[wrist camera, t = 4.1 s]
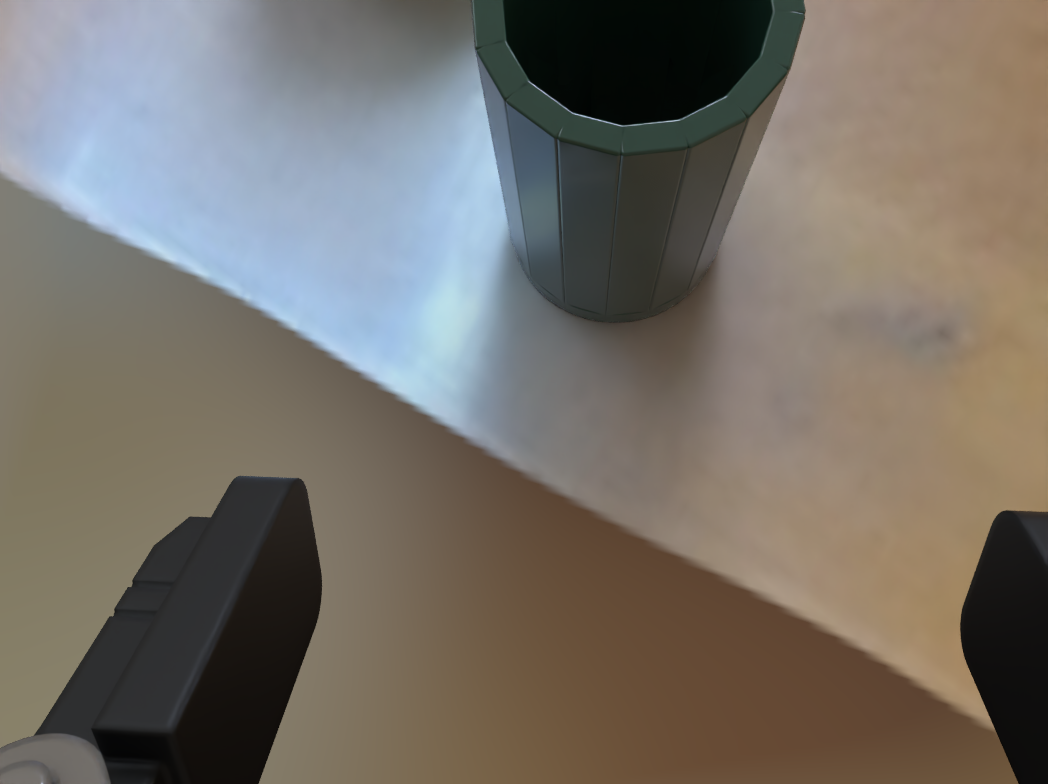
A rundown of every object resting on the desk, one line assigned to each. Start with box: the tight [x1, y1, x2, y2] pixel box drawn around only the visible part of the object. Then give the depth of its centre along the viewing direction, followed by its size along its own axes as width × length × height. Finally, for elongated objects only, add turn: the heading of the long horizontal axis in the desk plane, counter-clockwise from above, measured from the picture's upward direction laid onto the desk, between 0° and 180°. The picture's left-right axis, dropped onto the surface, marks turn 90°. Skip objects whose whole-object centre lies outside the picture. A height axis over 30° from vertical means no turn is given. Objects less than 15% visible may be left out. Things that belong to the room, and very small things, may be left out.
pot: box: [471, 0, 806, 322], centre depth 21 cm, size 6×6×10 cm
